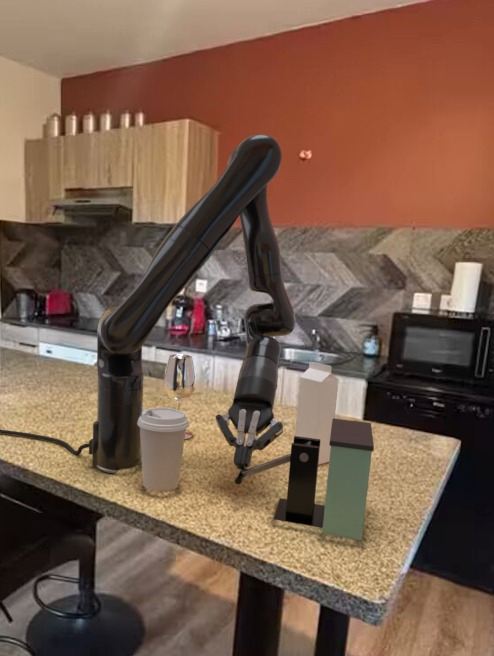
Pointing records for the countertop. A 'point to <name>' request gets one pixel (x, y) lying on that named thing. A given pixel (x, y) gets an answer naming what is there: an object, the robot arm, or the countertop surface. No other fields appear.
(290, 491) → the black lever stand
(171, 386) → the wineglass
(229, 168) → the robot arm
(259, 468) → the lever
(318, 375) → the milk
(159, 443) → the coffee cup
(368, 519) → the countertop surface
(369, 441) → the green lidded box
